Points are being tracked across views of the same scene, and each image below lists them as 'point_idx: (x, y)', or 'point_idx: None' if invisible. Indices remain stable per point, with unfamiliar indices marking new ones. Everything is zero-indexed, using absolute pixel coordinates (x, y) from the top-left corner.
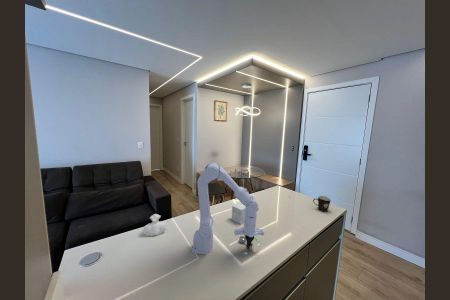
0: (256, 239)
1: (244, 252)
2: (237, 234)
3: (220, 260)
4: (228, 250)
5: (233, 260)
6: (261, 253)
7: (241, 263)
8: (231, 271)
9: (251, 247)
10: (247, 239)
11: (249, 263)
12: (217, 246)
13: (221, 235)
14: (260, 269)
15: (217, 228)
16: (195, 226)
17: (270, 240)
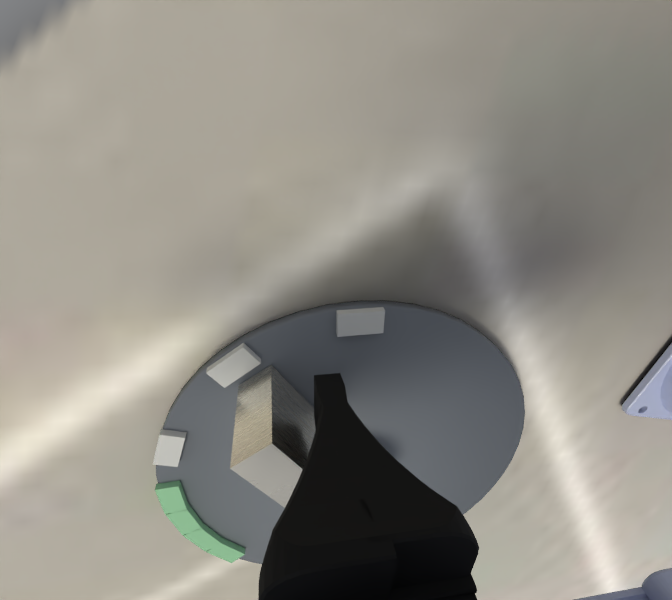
0: (186, 510)
1: (375, 332)
2: (628, 592)
3: (658, 226)
4: (522, 356)
5: (524, 227)
6: (144, 341)
7: (447, 179)
8: (621, 43)
9: (279, 398)
10: (432, 514)
11: (342, 177)
12: (601, 392)
13: (516, 500)
14: (194, 50)
15: (519, 552)
16: (664, 540)
17: (9, 519)
